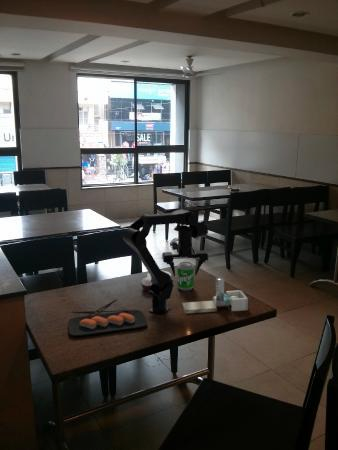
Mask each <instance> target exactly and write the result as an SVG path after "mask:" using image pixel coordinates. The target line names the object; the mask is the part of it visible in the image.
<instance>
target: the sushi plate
mask: <svg viewBox="0 0 338 450" xmlns="http://www.w3.org/2000/svg"><path fill="white" fill-rule="evenodd" d="M117 300H118V299H117V298H116V299H114V300H112V301H110V302H109V303H107V304H106V305H103V306H101V307H100V308H99V309H96V310H89V311H87V310H85V311H84V310H82V311H81V310H80V311H70V313H73V314H76V313H77V314H88V315H83V316H76V317H72V318H70V319H69V320H68V322H67V323H68V324H67V325H68V327H67V328H68V333H69V335H71V336H73V337H78V336H79V337H80V336H87V335H88V336H89V335H95V334H102V333H103V334H104V333H109V332H111V333H113V332H116V331H125V330H132V329H138V328H139V329H140V328H144V327H146V326H147V325H148V321H147V318H146V316H145V313H144V312H143V311H142V310H140V309H133V310H129V309H125V310H124V309H123V310H122V309H121V310H120V309H119V310H118V309H117V310H103V309H105V308H107V307H109V306H110V305H112V304H113V303H115V302H116V301H117ZM95 313H99V314H95Z"/></svg>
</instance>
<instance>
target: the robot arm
mask: <svg viewBox="0 0 338 450" xmlns="http://www.w3.org/2000/svg"><path fill="white" fill-rule="evenodd" d="M174 224H177V225H176V226H175V227H174V228H173V231H176V232H177V233H178V237H177V238H178V239H177V242H176V241H173V242H172V243H171V244H172V246H171V248H172V249H171V250H174V251H175V250H176V253H177V254H176V253H175V254H174V253H173V252H172V251H164V252H162V255H161V259H162V261H163V263H164V264H165V263H166V265H169V268H170V269H171V272H172V275H173V277H175V276H176V270H175V261H174V260H181V259H183V260H184V259H195V265H194V266H195V267H194V276H197V275H198V273H199V270H200V268H201V266H202V265H203V264H204V263H206V261H209V254H208V253H207V251H206V250H205V249H203V250H196V253H193V239H198V238H201V237H202V238H203V237H206V236H207V235H208V234H209V229H208V226H207V224H206V222H205V221H204V220H199V221H198V220H197V219H196V217H195V214H194V212H193V211H190V210H186V209H183V208H180V209H177V210H174V211H173V212H169V213H167V212H166V213H154V214H146V213H145V214H142V215H141V216H140V217H139V219H137V220H135V221H134V222H132V223H131V224H130V226H128V227H127V228H126V229H125V230H124V231H123V233H122V240H123V242H125V244H127V245H128V246H129V247H130V248H131V249H132V250H133V251H134V252H135V253H136V254H137V256H138V258H139V259H140V261H141V262H142V264H143V265H144V267H145V269H146V270H147V273H149V274H150V275H151V282H152V285H151V286H150V288H149V289H148V292H147V293H148V295H150V296H151V297H152V298H151V304H152V305H151V306H152V307H151V308H150V309H149V310H148V312H149V313H153V314H157V315H158V314H159V315H164V314H165V313H167V312H168V311H169V310H170V307H168V306H167V300H168V299H171V295H172V292H173V288H174V283H173V282H174V280H173V279H172V276H171V277H170V275H169V274H167V273H165V272H163V271H164V270H163V271H161V270H162V269H160V266H159V265H158V263H157V262H156V260H155V258H154V257H153V255H152V254H151V252H150V250H149V249H148V246H147V239H146V238H147V237H148V236H149V234H150V231H151V229H152V227H153V226H158V225H159V226H160V225H174Z"/></svg>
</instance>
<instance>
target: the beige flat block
mask: <svg viewBox="0 0 338 450" xmlns="http://www.w3.org/2000/svg"><path fill="white" fill-rule="evenodd" d="M181 307H182V309H183V311H184V313H185V314H196V313H197V314H199V313H211V312H218V308H217V307H218V306H216V305H215V304H214V302H213V300H204V301H203V300H202V301H190V302H181Z"/></svg>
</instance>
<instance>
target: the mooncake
mask: <svg viewBox="0 0 338 450" xmlns="http://www.w3.org/2000/svg"><path fill="white" fill-rule="evenodd" d="M160 270H161V271H163V272H165V273H167V274H169V275H170V277H171V278H172V274H171V272H169V271H166V270H163V269H160ZM146 277H149V278H151V275H150V274H149V272H147V274H146Z"/></svg>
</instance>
